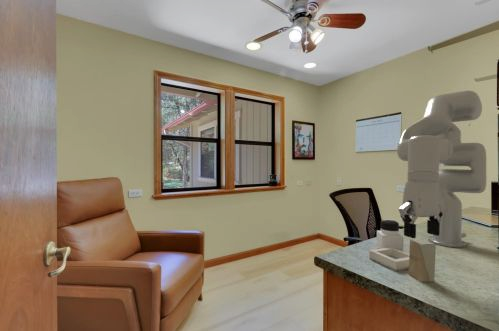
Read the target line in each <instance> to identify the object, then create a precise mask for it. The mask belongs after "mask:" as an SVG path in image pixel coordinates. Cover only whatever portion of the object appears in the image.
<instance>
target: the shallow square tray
mask: <svg viewBox="0 0 499 331" xmlns="http://www.w3.org/2000/svg"><path fill="white" fill-rule="evenodd" d="M409 253H410V252H406V251H404V250H403V251H401V250H398V249H395V248H393V247H388V248H382V249H378V248H376V249H370V250H369V256H368V257H369V259H370V260H372V261H374V262H375V263H378V264H380V265H382V266H384V267H387V268H388V269H391V270H393V271H394V272H399V271H404V270H409Z"/></svg>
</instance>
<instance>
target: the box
mask: <svg viewBox="0 0 499 331" xmlns="http://www.w3.org/2000/svg"><path fill="white" fill-rule="evenodd" d="M436 247H437V244H435V243H433V242H430V241H429V240H426V239H424V238H409V252H408V253H409V269H408V275H409V276H411V277H412V278H415V279H416V280H417V281H419V282H420V283H425V282H426V283H427V282H428V283H431V282H435V272H436V266H435V265H436V249H437V248H436Z"/></svg>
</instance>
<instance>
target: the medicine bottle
mask: <svg viewBox="0 0 499 331" xmlns="http://www.w3.org/2000/svg"><path fill="white" fill-rule="evenodd" d="M399 225H400V224H399V222H398V221H396V220H395V219H393V220H392V219H382V220H380V230H378V229H377V230H376V249H382V248H388V247H393V248H395V249H398V250H401V251H403V252H404V235H401V233H399V232H400V231H399V230H400V226H399Z"/></svg>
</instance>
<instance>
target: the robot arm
mask: <svg viewBox="0 0 499 331" xmlns="http://www.w3.org/2000/svg"><path fill="white" fill-rule="evenodd" d="M482 112H483V105H482V101H481V98H480V96H479V95H478V94H477V92H475V91H472V90H462V91H457V92H450V93H445V94H444V93H443V94H439V95H435V96H433V97H432V98H430V99H429V100H428V102H427V103H426V106H425V109H424V113H423V116H422V118H421V119H419V120H418V121H416V122H414V123H413V124H410V125H409V126H408V127H406V129H404V131H403V132H402V134H401V136H400V138H399V141H398V143H397V149H396V154H397V157H398V158H399V159H400V160H402V161H404V162H407V181H406V182H405V185H404V189H403V194H402V195H403V197H402V205H401V206H400V207H399V208H398V212H399V214H400V218H401V219H402V222H403V236H404V237H408V238H410V239H417V223H416V224H415V222H416V221H417V219H418V218H428V219H427V220H426V221H427V224H426V227H427V228H426V233H427V234H429V235H430V236H428V238H427V241H429V242H431V243H434V244H436V245H440V246H444V247H449V248H465V247H467V242H465V240H462V238H466V237H467V233H466V232H462V224H463V223H462V221H463V220H462V217H463V216H462V215H463V214H462V212H463V211H462V210H463V204H462V201H461V199H460V198H459V197H458V196H457V195H456V194H455V193H464V194H465V193H466V194H482V193H483V192H485V190H486V189H487V188H486V187H487V150H486V148H485V146H484V144H482V143H480V142H462V140H461V139H462V132H461V130H460V128H459V127H458V126H457V125H456V124H454V123H455V122H456V123H457V122H467V121H468V122H469V121H476V120H477V119H479V118H480V116H481V115H482ZM440 166H443V167H468V168H470V169H458V168H457V169H456V168H455V169H454V168H441V169H440Z"/></svg>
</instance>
